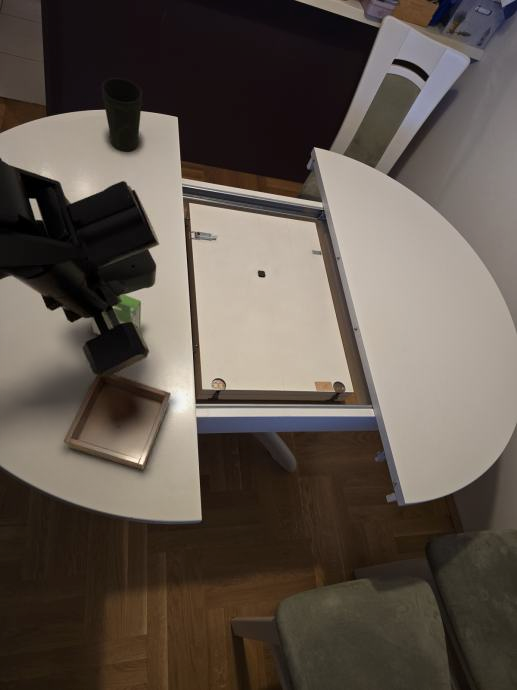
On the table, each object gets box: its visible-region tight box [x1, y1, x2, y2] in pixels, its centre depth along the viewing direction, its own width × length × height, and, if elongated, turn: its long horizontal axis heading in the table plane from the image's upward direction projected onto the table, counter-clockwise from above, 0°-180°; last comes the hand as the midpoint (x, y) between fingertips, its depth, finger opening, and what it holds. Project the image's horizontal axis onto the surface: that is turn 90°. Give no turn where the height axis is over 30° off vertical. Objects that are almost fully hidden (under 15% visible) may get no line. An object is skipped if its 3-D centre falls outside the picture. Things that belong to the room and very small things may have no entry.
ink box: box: [90, 294, 142, 335], centre depth 62 cm, size 7×4×13 cm, turn 74°
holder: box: [63, 374, 171, 471], centre depth 60 cm, size 11×11×5 cm
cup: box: [101, 77, 143, 153], centre depth 82 cm, size 8×8×12 cm
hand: (118, 318), depth 54 cm, fingers open, 9 cm apart
